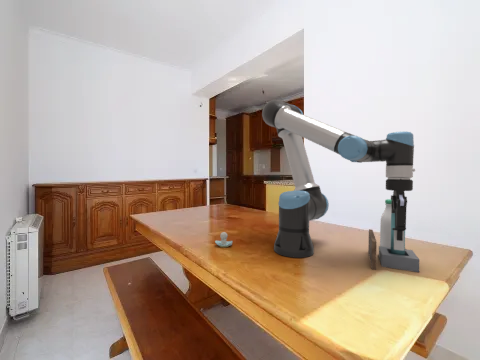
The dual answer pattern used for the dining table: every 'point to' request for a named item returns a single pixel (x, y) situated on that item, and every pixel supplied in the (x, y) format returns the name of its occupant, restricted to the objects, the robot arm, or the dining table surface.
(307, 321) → the dining table surface
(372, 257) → the wooden cutting board
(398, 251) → the peg
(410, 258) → the socket block
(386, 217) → the milk bottle
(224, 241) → the pacifier
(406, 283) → the dining table surface
